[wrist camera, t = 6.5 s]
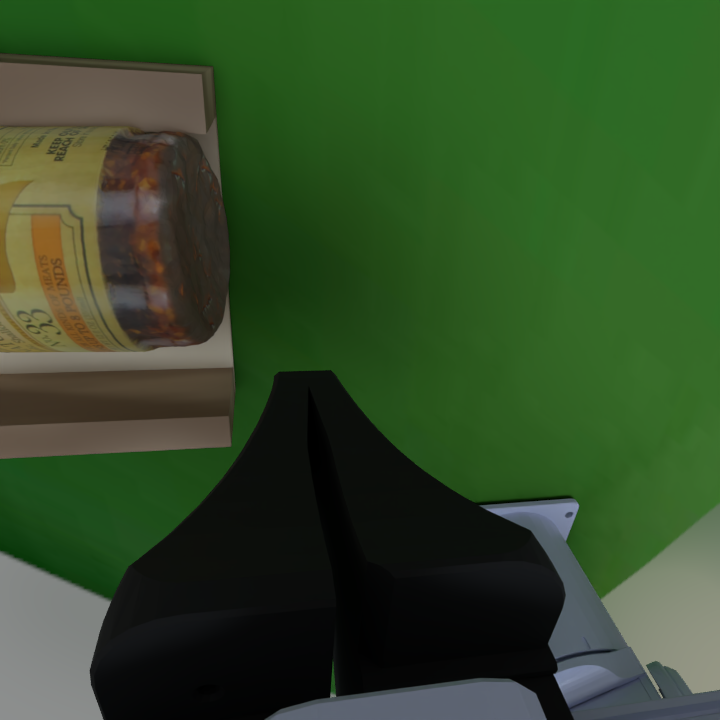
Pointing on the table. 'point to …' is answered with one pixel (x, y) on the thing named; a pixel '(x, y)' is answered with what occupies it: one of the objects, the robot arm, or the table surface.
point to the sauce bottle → (109, 240)
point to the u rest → (115, 369)
